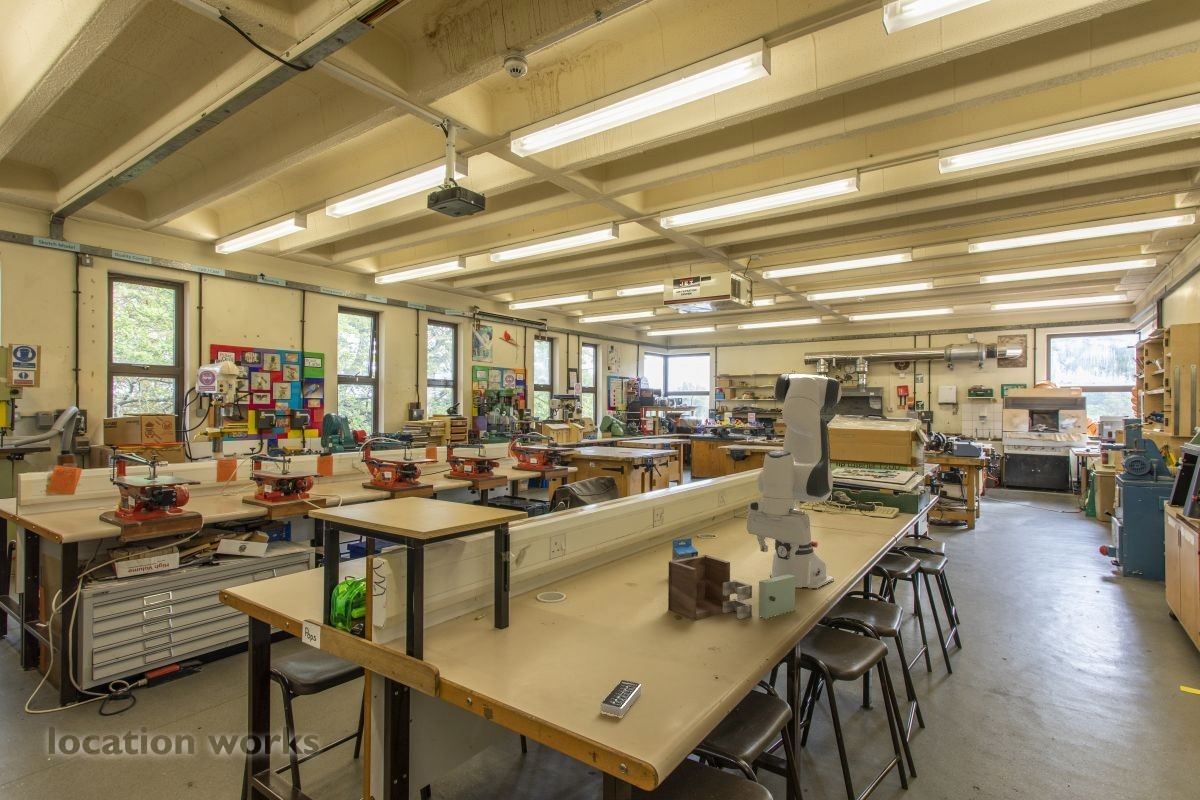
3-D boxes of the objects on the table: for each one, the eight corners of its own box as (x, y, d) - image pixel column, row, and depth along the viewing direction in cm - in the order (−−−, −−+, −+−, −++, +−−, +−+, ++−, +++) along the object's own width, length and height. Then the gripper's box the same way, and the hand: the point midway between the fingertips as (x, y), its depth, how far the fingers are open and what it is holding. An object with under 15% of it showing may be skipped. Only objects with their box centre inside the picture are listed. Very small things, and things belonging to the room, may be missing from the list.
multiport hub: (599, 715, 108) (599, 703, 108) (621, 690, 118) (621, 679, 118) (621, 721, 106) (621, 708, 106) (641, 695, 116) (641, 683, 116)
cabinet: (709, 599, 175) (710, 554, 176) (751, 615, 162) (752, 566, 162) (668, 609, 166) (668, 561, 166) (709, 627, 152) (709, 575, 152)
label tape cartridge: (678, 578, 198) (678, 542, 198) (671, 575, 201) (671, 540, 202) (698, 574, 202) (698, 540, 203) (691, 572, 206) (691, 538, 206)
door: (787, 608, 169) (788, 574, 169) (798, 611, 166) (798, 577, 166) (758, 616, 162) (759, 581, 162) (769, 620, 159) (769, 584, 159)
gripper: (816, 511, 158) (815, 561, 158) (757, 501, 175) (756, 546, 174) (802, 512, 155) (801, 564, 154) (743, 502, 171) (742, 549, 171)
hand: (777, 554), depth 164 cm, fingers open, 8 cm apart
